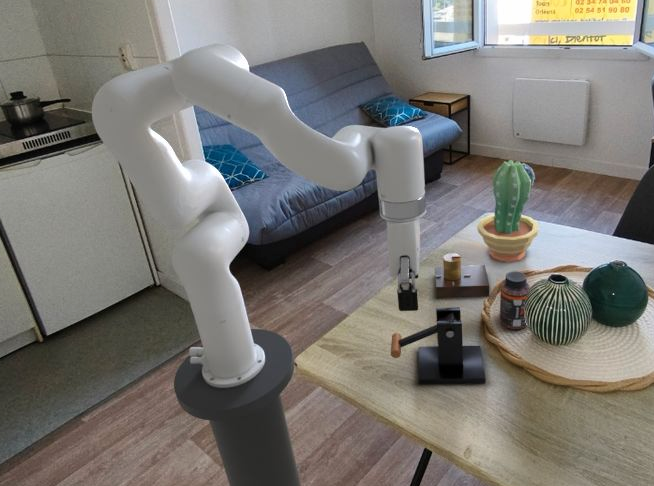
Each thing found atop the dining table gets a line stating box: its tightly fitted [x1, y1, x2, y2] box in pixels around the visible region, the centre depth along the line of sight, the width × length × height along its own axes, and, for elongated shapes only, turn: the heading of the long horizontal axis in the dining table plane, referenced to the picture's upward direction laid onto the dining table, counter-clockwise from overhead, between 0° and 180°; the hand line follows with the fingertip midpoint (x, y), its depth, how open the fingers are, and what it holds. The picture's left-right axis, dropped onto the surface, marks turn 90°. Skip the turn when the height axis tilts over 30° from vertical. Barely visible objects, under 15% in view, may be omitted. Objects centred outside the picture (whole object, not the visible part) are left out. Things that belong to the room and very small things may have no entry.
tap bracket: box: [418, 306, 487, 385], centre depth 93 cm, size 12×9×12 cm
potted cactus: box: [476, 159, 540, 263], centre depth 126 cm, size 15×15×25 cm
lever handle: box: [390, 313, 458, 359], centre depth 92 cm, size 13×5×2 cm, turn 84°
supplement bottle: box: [499, 270, 532, 330], centre depth 103 cm, size 6×6×11 cm
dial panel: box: [434, 264, 490, 299], centre depth 118 cm, size 12×9×3 cm
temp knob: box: [442, 252, 462, 280], centre depth 117 cm, size 4×4×5 cm
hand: (409, 293), depth 88 cm, fingers open, 9 cm apart
